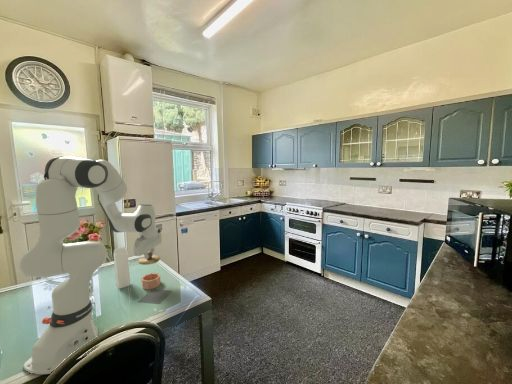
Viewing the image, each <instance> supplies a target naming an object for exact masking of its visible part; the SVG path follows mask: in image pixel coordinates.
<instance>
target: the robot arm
mask: <svg viewBox="0 0 512 384" xmlns="http://www.w3.org/2000/svg"><path fill="white" fill-rule="evenodd" d="M43 178H44V180H42V181H40V182H39V183H38V184H37V186H36V190H35V205H36V211H37V212H36V214H37V218H38V223H39V236H38V238H37V241H36V243H35V244H34V245H33V246H32V248H30V249H29V250H27V251H26V252H25V253H24V254H23V255H22V257H21V258H20V261H19V270H20V271H21V273H22V275H24V276H25V277H27V278H49V277H53V276H60V275H69V278H67V279H66V280H64V281H62V282H60V283H58V284H57V285H56V286H55V287H54V289H53V290H52V292H51V302H52V308H53V309H52V310H53V311H52V313H51V317H43V319H42V320H41V324H43V325H48V326H47V327H46V329H45V330H44V332H43V333H42V334H41V335H40V337H38V340H37V341H36V342H35V343H34V344H33V347H32V352H31V356H30V358H29V359H27V361H25V362H24V363H23V370H24V371H25V370H26V371H28V372H27V373H29V372H33V373H36V374H35V375H49V374H52V373H51V372H52V371H53V370H54V369H55V368H56V367H57V366H58V365H59V364H60V363H61V362H62V361H63V360H64V359H65V358H67V357H68V356H69V355H70V354H71V353H73V352H74V351H76V350H77V349H78V348H80V347H81V346H83V345H84V344H86V343H87V342H89V341H90V340H92V339H94V338H95V337H97V336H98V335H99V329H98V328H97V326H96V324H95V321H94V317H93V314H92V310H93V305H92V300H91V298H90V281H91V278H92V276H93V274H94V273H95V272H96V271H97V270H98V269H99V268H100V267H102V265H103V264H104V263H105V262H106V259H107V256H108V250H107V247H106V246H105V244H104V243H103V242H101V241H94V240H93V241H91V240H85V241H79V242H70V243H69V242H68V243H64V239H67V238H69V237H70V236H72V235H74V234H75V233H77V232H78V230H79V229H80V225H81V222H80V215H79V208H78V203H77V202H78V201H77V199H76V193H77V191H78V188H85V189H95V190H96V192H97V201H98V204H99V205H100V207H101V209H102V212H103V213H104V215H105V217H106V218H107V221H108V225H109V228H110V229H111V231H112V232H114V233H138V237H136V240H135V241H134V242H133V243H134V244H133V254H134V256H136V257H137V256H138V257H141V256H142V255H143V257H145V259H148V258H149V255H148V254H147V253H148V252H152V256H153V255H155V254H154V252H155V248H156V247H157V246H159V245H161V243H162V242H163V241H162V228H157V225H156V212H155V207H154V205H152V204H144V203H143V204H139V205H137V209H136V210H135V211H134V212H132V213H127V212H123V211H120V210H119V208H118V206H117V204H116V203H117V202H119V201H121V200H122V199H124V197H125V195H126V194H127V191H128V187H127V184H126V182H125V180H124V179H123V177H122V175H121V174H120V173H119V171H118V170H117V169H116V168H115V166H114V165H113V164H112V163H111V162H109V161H108V160H105V159H98V160H95V159H92V158H91V159H90V158H89V159H88V158H82V157H79V156H65V155H61V156H55V157H52V158H50V159H49V160H48V161H47V163H46V164H45V167H44V175H43ZM26 371H25V372H26Z"/></svg>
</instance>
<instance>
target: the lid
mask: <svg viewBox="0 0 512 384" xmlns="http://www.w3.org/2000/svg"><path fill="white" fill-rule="evenodd" d="M147 254H148V255H149V258H148V259H145V256H142V257H140V258H139V259H138V264H140V265H142V266H143V265H145V266H148V265H153V264H157V263H158V262H160V260H161V256H160V255H157V254H154V255H153V256H152V252H150V251H148V253H147Z"/></svg>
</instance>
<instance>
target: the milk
mask: <svg viewBox="0 0 512 384" xmlns="http://www.w3.org/2000/svg"><path fill="white" fill-rule="evenodd" d="M129 260H130V259H129V253H128V250H127V246H122V247H118V248H115V249H114V250H113V263H114V264H113V266H114V274H115V286H116V287H117V288H118V290H120V289H123V288H126V287H130V286H131V274H130V273H131V272H130V261H129Z"/></svg>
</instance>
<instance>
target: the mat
mask: <svg viewBox="0 0 512 384" xmlns="http://www.w3.org/2000/svg"><path fill="white" fill-rule="evenodd" d="M171 293H173V290H170V289H157V288H156V289H155V288H153V289H149V291H148V292H147V293H146V294H145V295H143V296H142V297H141V298H140V299H139V300H138V301H137V303H147V304H157V305H160V304H162V303H163V301H164V300H165V299H166V298H167V297H168V296H169V295H170V294H171Z"/></svg>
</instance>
